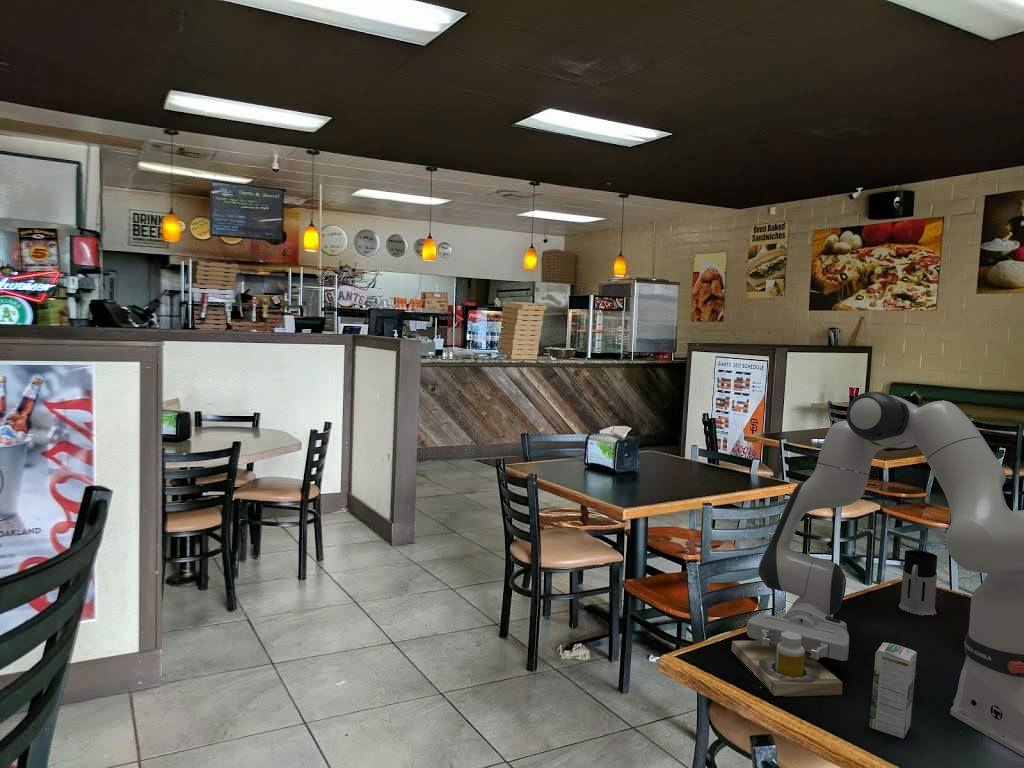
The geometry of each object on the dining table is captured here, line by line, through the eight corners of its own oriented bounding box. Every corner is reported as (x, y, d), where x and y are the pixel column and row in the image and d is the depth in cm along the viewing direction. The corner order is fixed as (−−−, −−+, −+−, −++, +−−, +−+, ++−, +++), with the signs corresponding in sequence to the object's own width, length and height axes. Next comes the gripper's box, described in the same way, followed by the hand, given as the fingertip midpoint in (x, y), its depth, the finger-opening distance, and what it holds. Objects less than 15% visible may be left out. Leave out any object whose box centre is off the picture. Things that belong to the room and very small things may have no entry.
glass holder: (938, 609, 188) (942, 554, 187) (929, 624, 177) (933, 566, 176) (902, 600, 194) (905, 547, 193) (890, 615, 183) (894, 558, 182)
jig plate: (841, 694, 140) (842, 682, 139) (774, 696, 138) (775, 684, 138) (790, 650, 159) (791, 639, 159) (731, 651, 158) (732, 640, 158)
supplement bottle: (807, 688, 142) (810, 641, 141) (780, 687, 142) (783, 640, 141) (796, 675, 147) (799, 630, 147) (771, 674, 147) (773, 629, 147)
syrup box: (876, 715, 132) (881, 640, 131) (911, 727, 128) (917, 649, 127) (868, 728, 128) (873, 650, 127) (905, 740, 124) (911, 660, 123)
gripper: (755, 602, 161) (738, 621, 149) (854, 624, 150) (844, 647, 138) (754, 629, 161) (737, 650, 150) (852, 653, 150) (842, 678, 138)
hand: (789, 649), depth 144 cm, fingers open, 8 cm apart
